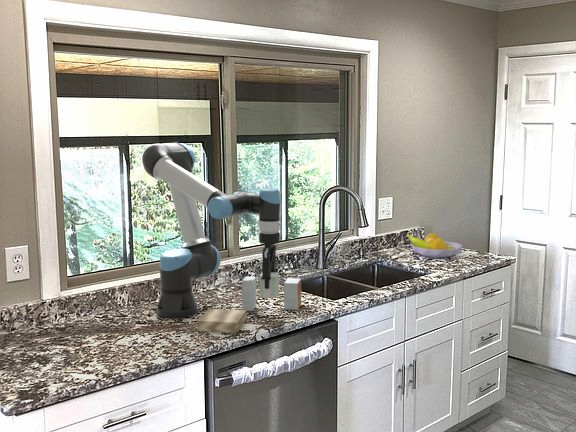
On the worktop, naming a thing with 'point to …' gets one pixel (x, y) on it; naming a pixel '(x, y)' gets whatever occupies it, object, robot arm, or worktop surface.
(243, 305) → the skincare box
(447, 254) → the fruit bowl
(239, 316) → the birch block
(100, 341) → the worktop surface
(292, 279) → the small box
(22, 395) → the worktop surface
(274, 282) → the sage block
